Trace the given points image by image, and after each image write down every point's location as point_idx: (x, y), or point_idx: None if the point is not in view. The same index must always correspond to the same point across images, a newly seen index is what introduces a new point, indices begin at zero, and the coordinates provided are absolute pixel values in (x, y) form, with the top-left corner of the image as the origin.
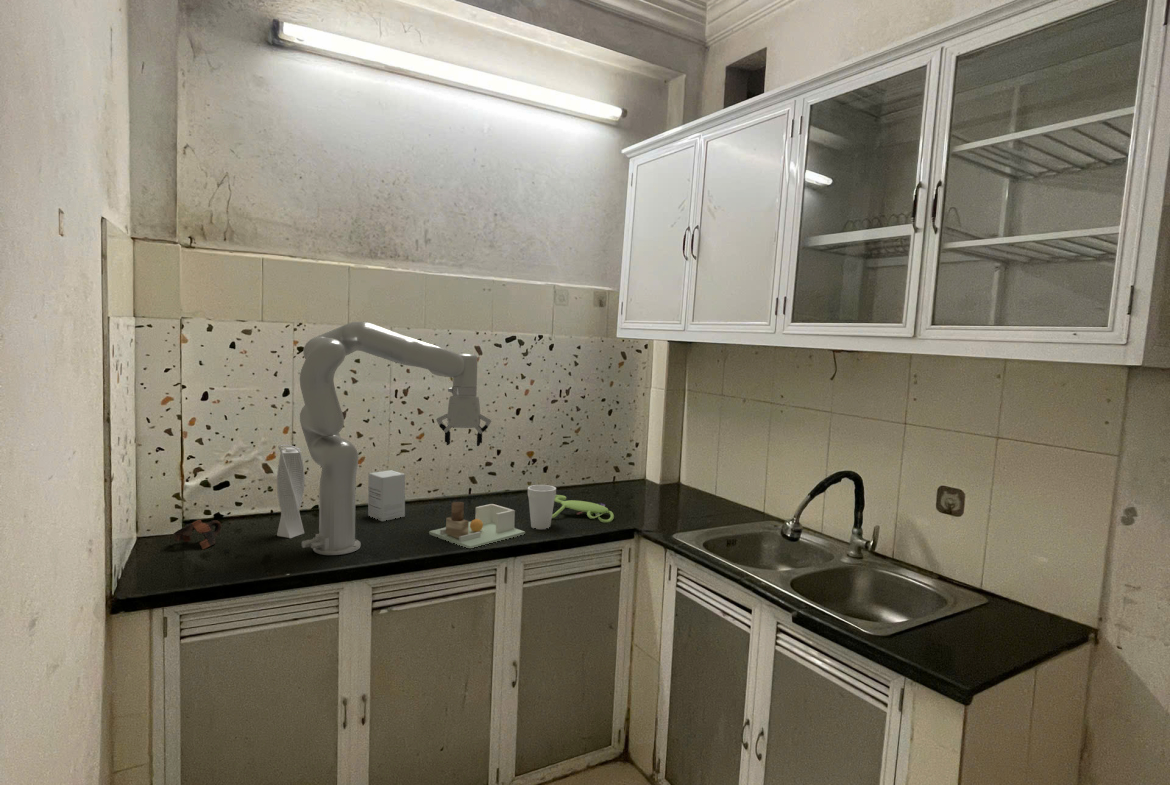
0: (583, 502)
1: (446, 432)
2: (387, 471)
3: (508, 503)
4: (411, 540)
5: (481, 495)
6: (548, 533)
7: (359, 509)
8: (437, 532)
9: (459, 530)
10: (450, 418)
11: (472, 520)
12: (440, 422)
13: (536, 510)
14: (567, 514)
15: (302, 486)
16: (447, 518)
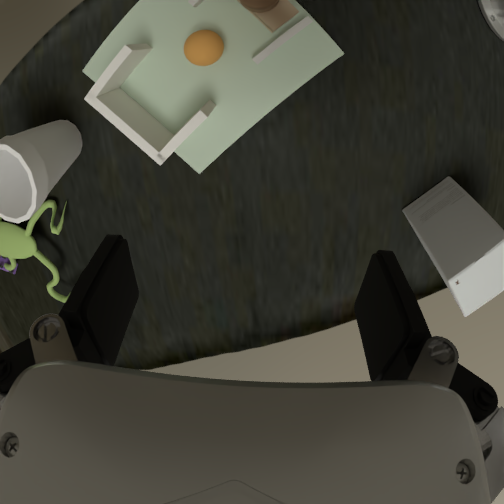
0: (2, 244)
1: (429, 338)
2: (479, 300)
3: (169, 306)
4: (381, 11)
5: (234, 349)
6: (42, 92)
7: None
8: (320, 40)
9: None
10: (461, 493)
11: (214, 48)
12: (496, 427)
13: (41, 129)
14: (41, 235)
15: None
16: (294, 7)
